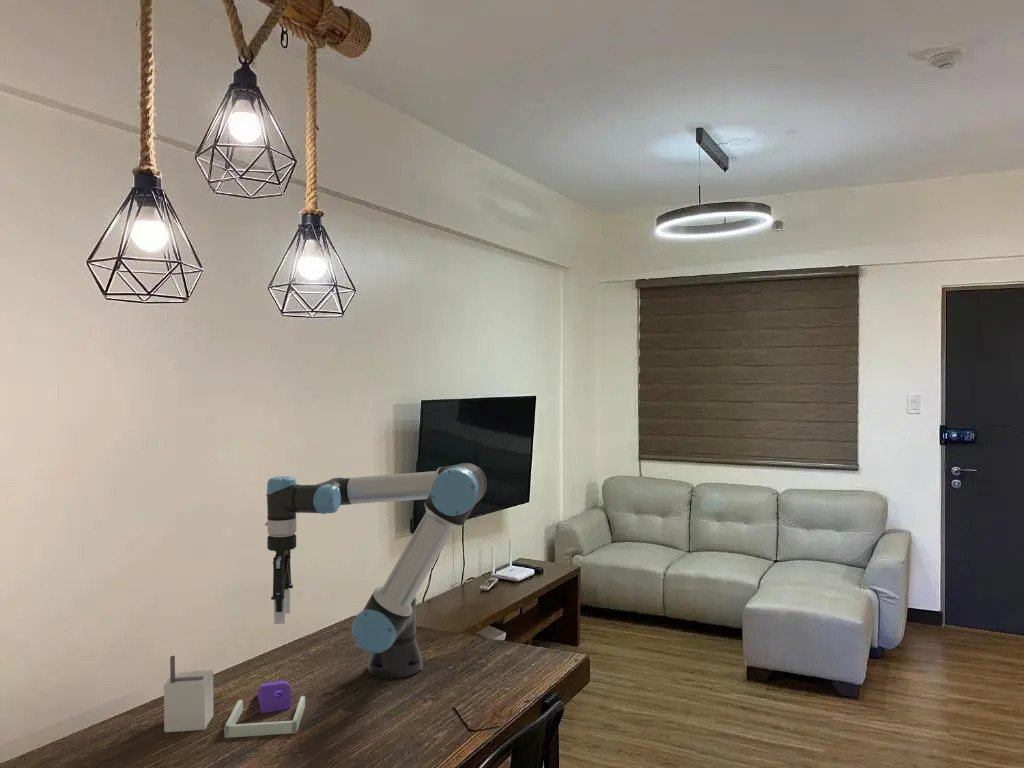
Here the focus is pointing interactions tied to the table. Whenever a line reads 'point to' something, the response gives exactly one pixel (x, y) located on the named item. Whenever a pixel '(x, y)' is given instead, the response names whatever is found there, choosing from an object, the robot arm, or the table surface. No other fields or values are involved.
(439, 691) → the table surface
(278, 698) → the bracket
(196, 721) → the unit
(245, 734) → the corral
